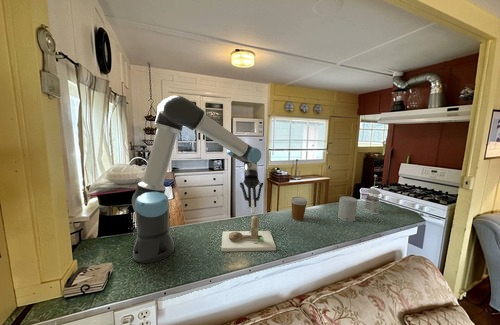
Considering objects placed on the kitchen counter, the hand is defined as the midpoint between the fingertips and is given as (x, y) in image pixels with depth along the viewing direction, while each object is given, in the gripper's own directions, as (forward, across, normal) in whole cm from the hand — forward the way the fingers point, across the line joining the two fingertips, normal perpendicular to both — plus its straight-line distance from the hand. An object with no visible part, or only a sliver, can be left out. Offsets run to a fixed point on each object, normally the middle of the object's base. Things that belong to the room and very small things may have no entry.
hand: (252, 213), depth 99 cm
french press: (-10, +81, +25) cm, 86 cm away
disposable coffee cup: (-4, +28, +18) cm, 34 cm away
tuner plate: (+13, -3, +1) cm, 14 cm away
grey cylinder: (-4, +58, +18) cm, 61 cm away
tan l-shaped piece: (+12, -4, -1) cm, 13 cm away
